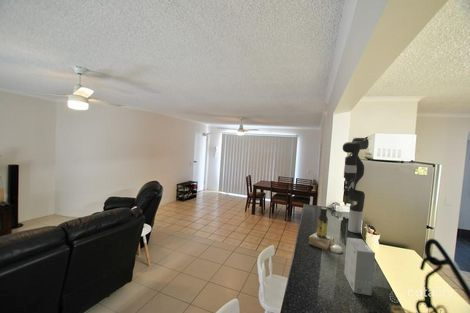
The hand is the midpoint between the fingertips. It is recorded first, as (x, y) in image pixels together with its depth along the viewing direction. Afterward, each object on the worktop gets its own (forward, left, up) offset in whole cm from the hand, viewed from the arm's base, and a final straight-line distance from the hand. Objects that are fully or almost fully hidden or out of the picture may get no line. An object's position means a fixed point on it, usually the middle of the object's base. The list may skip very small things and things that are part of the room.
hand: (348, 194), depth 146 cm
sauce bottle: (+15, -11, -29) cm, 35 cm away
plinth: (+15, -11, -34) cm, 39 cm away
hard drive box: (+44, +19, -35) cm, 59 cm away
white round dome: (+16, -1, -35) cm, 38 cm away
